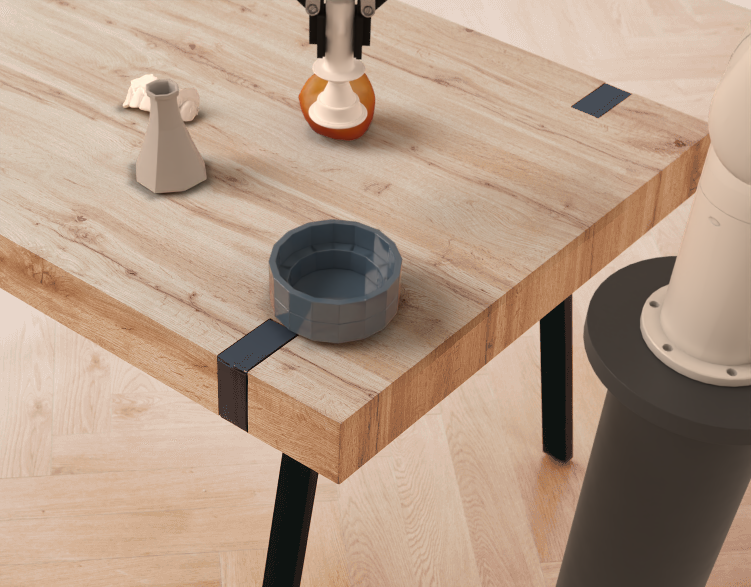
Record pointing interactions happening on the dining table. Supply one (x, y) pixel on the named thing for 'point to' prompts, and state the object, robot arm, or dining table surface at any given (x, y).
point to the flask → (167, 144)
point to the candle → (338, 71)
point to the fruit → (358, 86)
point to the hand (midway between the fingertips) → (339, 49)
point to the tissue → (139, 98)
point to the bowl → (335, 280)
